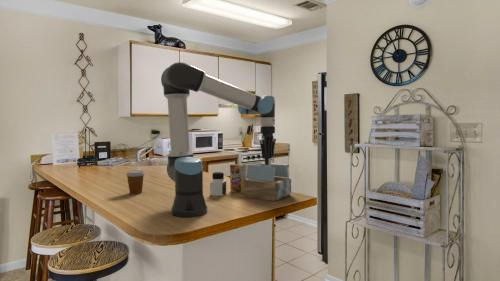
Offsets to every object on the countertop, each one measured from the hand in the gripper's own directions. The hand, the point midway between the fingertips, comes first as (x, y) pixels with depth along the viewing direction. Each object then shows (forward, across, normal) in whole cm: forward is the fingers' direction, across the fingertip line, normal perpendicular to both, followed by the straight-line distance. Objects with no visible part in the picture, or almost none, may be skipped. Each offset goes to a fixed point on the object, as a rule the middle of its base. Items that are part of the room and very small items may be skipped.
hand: (268, 170), depth 172 cm
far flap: (+4, +8, 0) cm, 9 cm away
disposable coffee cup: (+13, -35, +64) cm, 74 cm away
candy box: (+13, -1, +19) cm, 23 cm away
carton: (+13, 0, 0) cm, 13 cm away
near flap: (+4, -8, 0) cm, 9 cm away
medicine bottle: (+13, -12, +24) cm, 30 cm away
